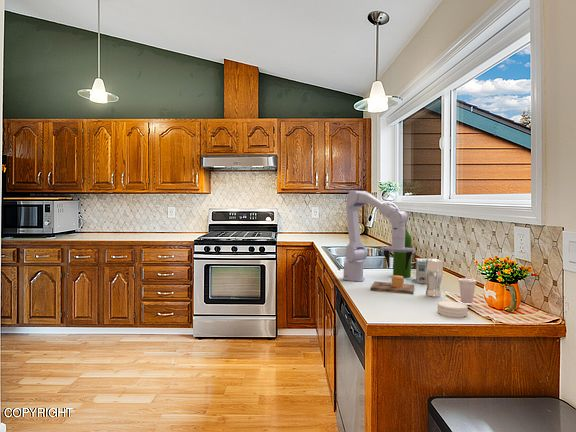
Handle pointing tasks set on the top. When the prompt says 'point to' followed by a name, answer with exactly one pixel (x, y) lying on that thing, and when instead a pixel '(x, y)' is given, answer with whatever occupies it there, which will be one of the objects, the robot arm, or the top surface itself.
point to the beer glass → (433, 276)
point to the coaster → (452, 309)
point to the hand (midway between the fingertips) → (397, 268)
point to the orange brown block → (397, 281)
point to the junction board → (388, 287)
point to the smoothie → (467, 289)
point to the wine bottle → (402, 259)
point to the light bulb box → (420, 270)
